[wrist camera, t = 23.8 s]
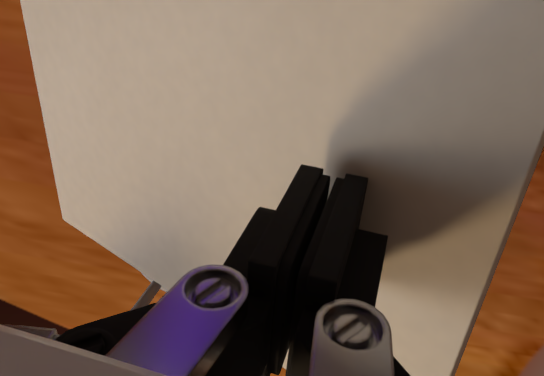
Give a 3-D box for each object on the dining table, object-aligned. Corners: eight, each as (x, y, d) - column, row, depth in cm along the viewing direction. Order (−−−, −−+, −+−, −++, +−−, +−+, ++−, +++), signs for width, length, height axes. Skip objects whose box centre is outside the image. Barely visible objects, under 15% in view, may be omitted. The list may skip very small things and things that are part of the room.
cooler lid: (627, -69, 8) (621, -67, 7) (429, 439, 15) (419, 459, 14) (18, -130, 16) (-6, -131, 16) (77, 212, 24) (62, 219, 23)
